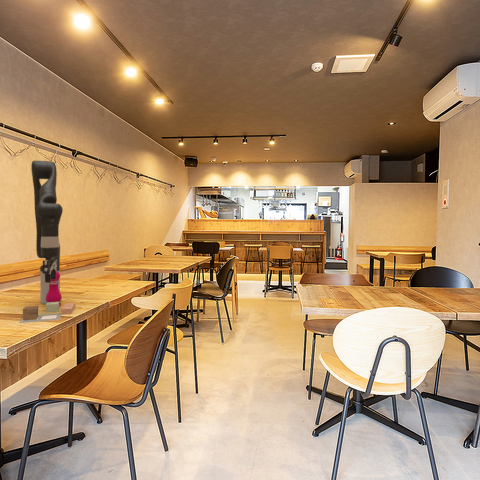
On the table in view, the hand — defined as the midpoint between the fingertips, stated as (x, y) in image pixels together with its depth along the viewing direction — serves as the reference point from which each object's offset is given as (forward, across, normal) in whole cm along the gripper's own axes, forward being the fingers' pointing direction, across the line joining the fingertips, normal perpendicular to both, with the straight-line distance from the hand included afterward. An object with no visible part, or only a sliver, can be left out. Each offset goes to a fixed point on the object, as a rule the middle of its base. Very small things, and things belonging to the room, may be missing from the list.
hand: (50, 280), depth 158 cm
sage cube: (+16, -2, 0) cm, 16 cm away
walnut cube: (+15, +11, -5) cm, 19 cm away
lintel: (+16, 0, +8) cm, 18 cm away
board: (+16, +10, -1) cm, 19 cm away
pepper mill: (+16, -16, -3) cm, 23 cm away
